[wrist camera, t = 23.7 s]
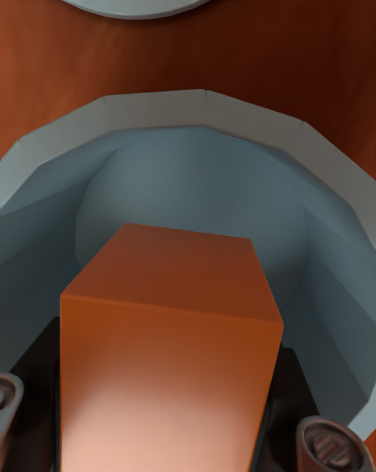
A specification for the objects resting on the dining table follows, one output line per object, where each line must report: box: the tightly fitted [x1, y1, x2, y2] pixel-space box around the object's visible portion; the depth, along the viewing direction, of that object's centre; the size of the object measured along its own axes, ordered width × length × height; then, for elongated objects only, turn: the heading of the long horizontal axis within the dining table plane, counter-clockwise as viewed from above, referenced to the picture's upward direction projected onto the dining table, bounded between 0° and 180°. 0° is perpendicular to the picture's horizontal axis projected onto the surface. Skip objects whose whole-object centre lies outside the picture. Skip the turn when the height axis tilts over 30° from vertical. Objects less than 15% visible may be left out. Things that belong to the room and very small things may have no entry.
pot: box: [0, 89, 376, 441], centre depth 14 cm, size 14×14×8 cm
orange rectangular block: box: [60, 223, 284, 472], centre depth 9 cm, size 6×4×5 cm, turn 173°
